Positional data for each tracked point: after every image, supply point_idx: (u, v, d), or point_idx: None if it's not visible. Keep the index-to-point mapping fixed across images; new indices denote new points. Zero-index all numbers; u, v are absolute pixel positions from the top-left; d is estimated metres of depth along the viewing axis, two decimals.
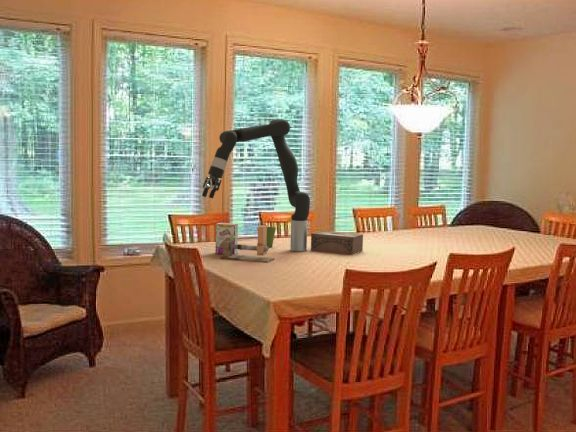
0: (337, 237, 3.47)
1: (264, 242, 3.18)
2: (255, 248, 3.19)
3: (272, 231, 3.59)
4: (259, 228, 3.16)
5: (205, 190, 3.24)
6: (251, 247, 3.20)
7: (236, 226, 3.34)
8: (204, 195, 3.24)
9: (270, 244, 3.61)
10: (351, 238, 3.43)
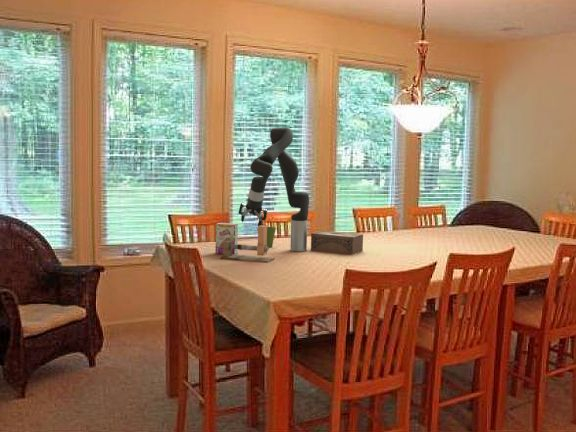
0: (337, 237, 3.47)
1: (264, 242, 3.18)
2: (255, 248, 3.19)
3: (272, 231, 3.59)
4: (259, 228, 3.16)
5: (244, 216, 3.17)
6: (251, 247, 3.20)
7: (236, 226, 3.34)
8: (243, 220, 3.19)
9: (270, 244, 3.61)
10: (351, 238, 3.43)
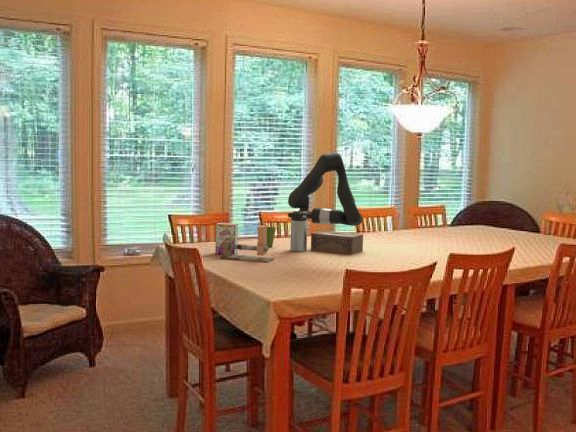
0: (337, 237, 3.47)
1: (264, 242, 3.18)
2: (255, 248, 3.19)
3: (272, 231, 3.59)
4: (259, 228, 3.16)
5: None
6: (251, 247, 3.20)
7: (236, 226, 3.34)
8: None
9: (270, 244, 3.61)
10: (350, 238, 3.43)
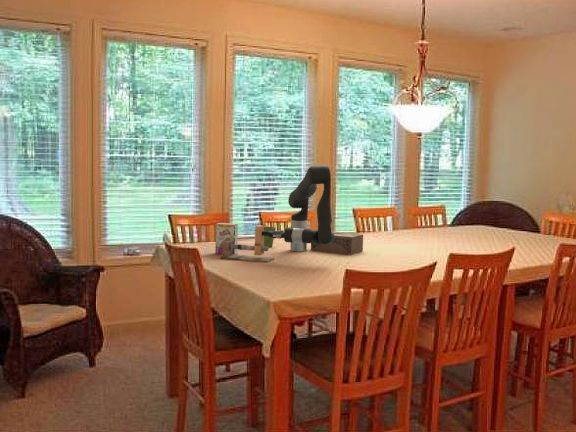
0: (336, 237, 3.47)
1: (261, 242, 3.19)
2: None
3: None
4: (256, 228, 3.17)
5: None
6: (251, 247, 3.20)
7: (236, 226, 3.34)
8: None
9: (270, 244, 3.61)
10: (349, 238, 3.43)
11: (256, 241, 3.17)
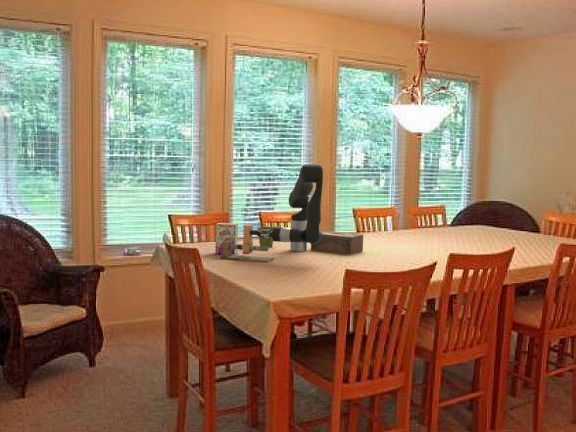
0: (336, 237, 3.47)
1: (250, 241, 3.21)
2: (255, 248, 3.19)
3: None
4: (245, 227, 3.19)
5: None
6: (251, 247, 3.20)
7: (236, 226, 3.34)
8: None
9: (270, 244, 3.61)
10: (349, 238, 3.43)
11: (244, 240, 3.19)
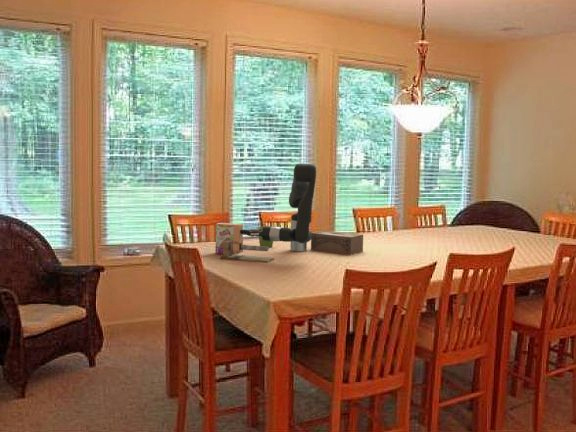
0: (335, 237, 3.47)
1: (240, 240, 3.22)
2: (255, 248, 3.19)
3: None
4: (235, 226, 3.20)
5: None
6: (251, 247, 3.20)
7: None
8: None
9: (270, 244, 3.61)
10: (349, 238, 3.43)
11: (235, 239, 3.21)
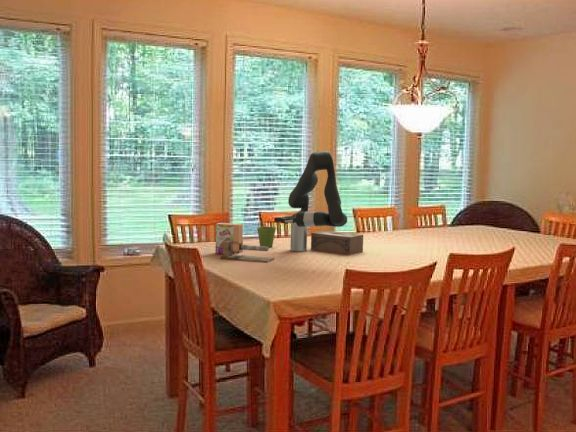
0: (335, 237, 3.47)
1: (240, 240, 3.22)
2: (255, 248, 3.19)
3: (272, 231, 3.59)
4: (235, 226, 3.20)
5: None
6: (251, 247, 3.20)
7: None
8: None
9: (270, 244, 3.61)
10: (348, 238, 3.43)
11: (234, 239, 3.21)
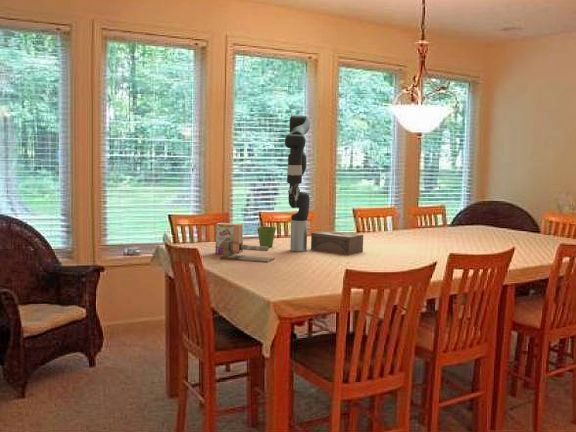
0: (335, 237, 3.47)
1: (240, 240, 3.22)
2: (255, 248, 3.19)
3: (272, 231, 3.59)
4: (235, 226, 3.20)
5: None
6: (251, 247, 3.20)
7: None
8: None
9: (270, 244, 3.61)
10: (347, 238, 3.42)
11: (234, 239, 3.21)
